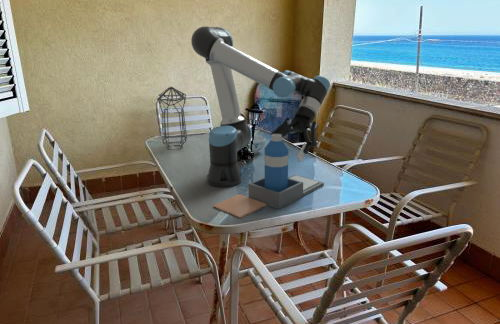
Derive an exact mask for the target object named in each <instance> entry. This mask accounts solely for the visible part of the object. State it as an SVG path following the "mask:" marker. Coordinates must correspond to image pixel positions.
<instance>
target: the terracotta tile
mask: <svg viewBox="0 0 500 324" xmlns="http://www.w3.org/2000/svg"><path fill="white" fill-rule="evenodd" d="M213 206H214V207H216V208H215V209H217V208H218V210H219V209H221V210H220V211H222V210H223V211H222V212H224V211H225V212H224V213H226V212H227V214H229V213H230V214H229V215H231V214H232V215H231V216H233V215H234V216H233V217H236V216H237V217H236V218H238V217H239V218H238V219H242V218H244V217H246V216H249V215H250V214H253V213H254V212H256V211H258V210H260V209H262V208H264V207H266V206H268V205H267V204H265V203H263V202H260V201H257V200H254V199H252V198H249V196H247V195H243V194H241V193H239V194H236V195H234V196H232V197H229V198H227V199H224V200H222V201H219V202H218V203H215V204H213V205H212V207H213ZM214 207H213V208H214Z"/></svg>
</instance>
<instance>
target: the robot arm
mask: <svg viewBox="0 0 500 324" xmlns="http://www.w3.org/2000/svg"><path fill="white" fill-rule="evenodd" d="M233 46H234V40H233V37H232V35H231V33H230V32H229V31H228V30H226V29H225V28H223V27H219V26H201V27H198V28H197V29H195V31H193V33H192V35H191V47H192V49H193V51H194V52H195V53H196V54H197V55H198V56H201V57H202V58H204V59H205V62H206V64H208V65H209V66H210V69H211V73H212V79H213V83H214V84H213V85H214V87H215V91H216V96H217V101H218V105H219V111H220V113H221V118H222V120H221V121H220V122H219V126H215V127H212V129H210V131H209V133H208V143H209V145H208V146H209V161H210V165H209V170H208V173H207V175H206V182H207V184H208V185H209V186H213V187H216V188H228V187H234V186H237V185H239V184H241V183H242V182H243V181H242V173H241V170H240V167H239V165H238V164H239V163H238V152H239V151H240V150H243V149H242V148H244V147H246V146H247V145H248V143H249V142H250V140H251V137H252V135H253V133H252V129H251V127H250V125H249V124H247V121H246V118H245V117H244V116H242V114H241V109H240V103H239V100H238V99H239V98H238V94H237V91H236V90H237V89H236V86H235V80H234V76H233V71H234V72H236V73H239V74H241V75H242V76H245V78H248V79H249V80H252V81H254V82H256V83H258V84H260V85H261V86H263V87H265V88H267V89H269V90H271V91H272V92H273V93H274V94H275V96H277V97H278V98H281V99H282V98H284V99H285V98H289V97H291V96H293V94H295V95H299V96H301V97H303V98H302V100H301V101H300V104H299V106H298V108H297V109H296V111H295V113H294V118H292V119H291V118H289V117H286V118H285V120H284V121H283V122H282V123H280V125H279V126H277V128H274V129H275V130H273V131H272V132H271V133H270V136H271V135H272V134H282V138H284V137H286V136H287V135H289V134H290V133H293V132H296V133H298V132H299V133H303V137H304V139H305V143H303V144H302V147H301V148H300V150H299V153H298V155H297V156H296V159H297V161H298V162H299V163H302V162H303V159H304V158H305V155H307V154H308V153H309V151H310V149H311V148H312V147H314V148H315V147H317V145H318V143H317V139H318V138H317V135H318V134H317V129H318V127H319V126H318V123H316V121H315V118H316V116H317V114H318V112H319V110H320V107H321V106H322V103H323V102H324V100H325V98H326V96H327V95H328V92H329V90H330V87H331V82H330V80H329V79H328V78H326V77H325V76H323V75H316V76H314V77H313V78H310V77H306V76H304V75H301V74H299V73H296V72H294V71H291V70H288V69H286V70H284V71H283V72H281V71H279V70H278V69H276V68H274V67H272V66H270V65H268V64H266V63H264V62H262V61H260V60H259V59H256V58H255V57H253V56H251V55H248V54H246V53H244V52H242V51H240V50H238V49H237V48H235V47H233ZM232 70H233V71H232ZM309 128H310V135H309V132H308V129H309Z"/></svg>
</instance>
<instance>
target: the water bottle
mask: <svg viewBox="0 0 500 324" xmlns="http://www.w3.org/2000/svg"><path fill="white" fill-rule="evenodd" d="M264 177H265V188H267V189H270V190H273V191H276V192H281V191H283V190H285V189H287V188H288V177H289V148H288V146H286V144H285V142H284V141H283V137H282V134H272V135H271V134H270V141H269V142H268V143H267V145H265V147H264Z"/></svg>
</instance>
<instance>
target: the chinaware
mask: <svg viewBox="0 0 500 324" xmlns="http://www.w3.org/2000/svg"><path fill="white" fill-rule="evenodd" d="M266 140H267V138H266V137H264V136H262V135H254V140H253V144H252V151H253V152H254V154H253V155H256V154H258V153H259V152H260V151H261V150H262V149H263V147H264V146H265V144H266Z"/></svg>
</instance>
